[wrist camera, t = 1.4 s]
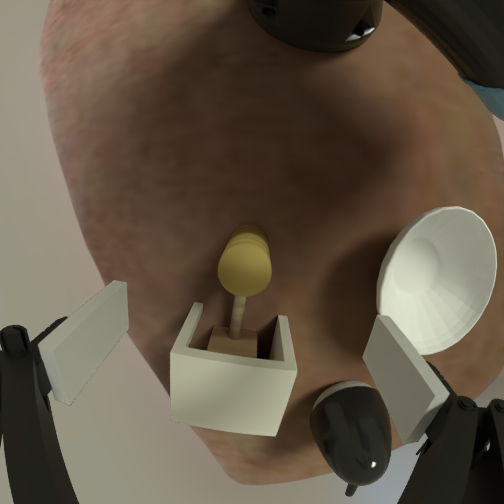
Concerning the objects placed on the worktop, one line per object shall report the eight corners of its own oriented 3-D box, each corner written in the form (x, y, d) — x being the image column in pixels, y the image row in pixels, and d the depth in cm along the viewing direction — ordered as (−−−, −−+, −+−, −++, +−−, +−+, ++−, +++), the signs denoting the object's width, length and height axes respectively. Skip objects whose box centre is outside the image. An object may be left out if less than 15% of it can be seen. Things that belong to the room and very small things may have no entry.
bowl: (333, 241, 30) (353, 259, 23) (442, 176, 27) (479, 179, 21) (380, 347, 33) (401, 379, 26) (472, 285, 31) (502, 304, 24)
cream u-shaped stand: (194, 301, 32) (170, 352, 22) (287, 316, 32) (297, 371, 22) (190, 364, 34) (171, 421, 24) (272, 376, 34) (275, 436, 24)
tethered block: (227, 221, 29) (214, 240, 21) (275, 229, 30) (283, 250, 21) (210, 358, 34) (198, 408, 25) (250, 364, 34) (248, 416, 25)
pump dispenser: (297, 420, 36) (309, 506, 22) (317, 367, 34) (343, 462, 19) (360, 420, 37) (386, 496, 22) (386, 369, 34) (430, 448, 19)
